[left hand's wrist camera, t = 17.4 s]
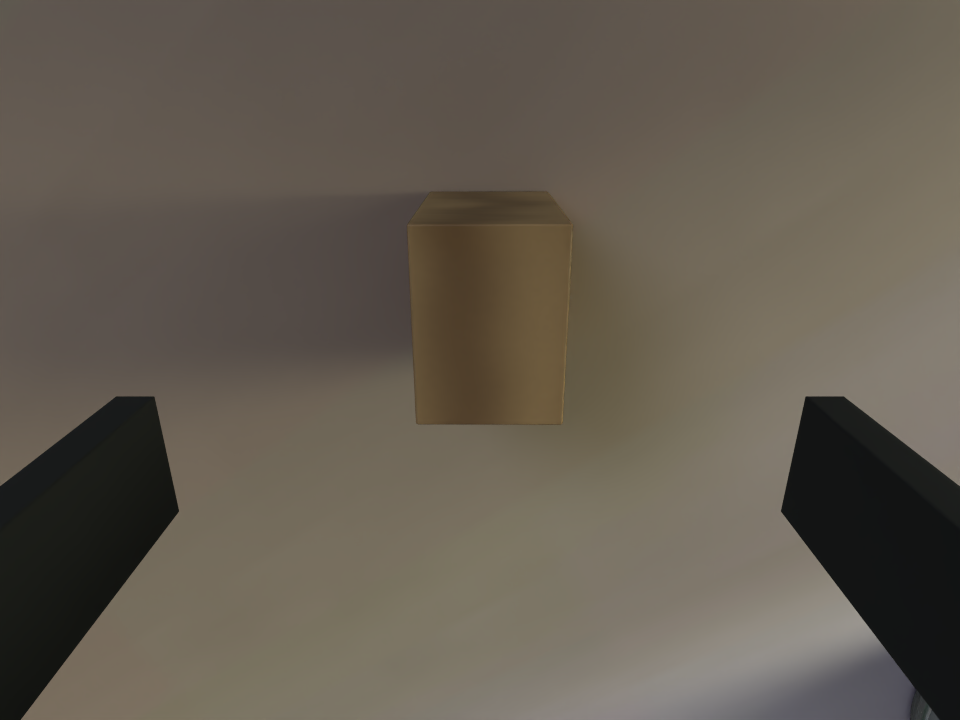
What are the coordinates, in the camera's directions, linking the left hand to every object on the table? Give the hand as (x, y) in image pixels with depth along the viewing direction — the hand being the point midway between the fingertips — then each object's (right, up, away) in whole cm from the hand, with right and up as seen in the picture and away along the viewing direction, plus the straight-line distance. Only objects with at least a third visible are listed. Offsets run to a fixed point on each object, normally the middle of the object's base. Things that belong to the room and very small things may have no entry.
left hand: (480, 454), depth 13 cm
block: (0, +6, +14) cm, 16 cm away
